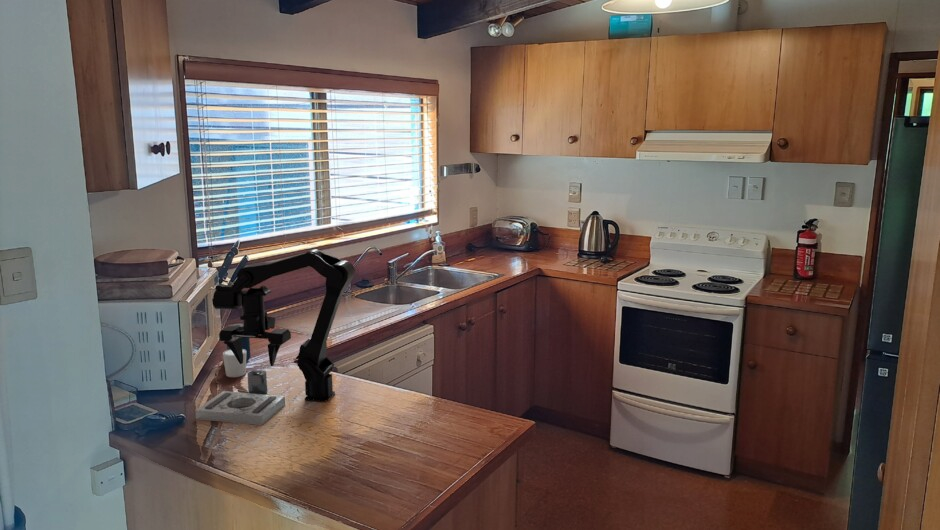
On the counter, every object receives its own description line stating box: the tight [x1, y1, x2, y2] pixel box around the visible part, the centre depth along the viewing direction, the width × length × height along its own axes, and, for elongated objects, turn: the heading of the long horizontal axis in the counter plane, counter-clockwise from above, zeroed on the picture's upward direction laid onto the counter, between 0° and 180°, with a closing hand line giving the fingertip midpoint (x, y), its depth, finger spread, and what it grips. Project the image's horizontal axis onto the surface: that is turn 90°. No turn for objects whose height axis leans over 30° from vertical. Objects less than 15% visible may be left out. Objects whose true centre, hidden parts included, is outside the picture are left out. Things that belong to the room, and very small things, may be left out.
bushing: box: [247, 369, 268, 395], centre depth 188 cm, size 5×5×6 cm
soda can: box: [226, 321, 251, 363], centre depth 214 cm, size 7×7×12 cm
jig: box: [195, 390, 286, 426], centre depth 176 cm, size 18×13×3 cm
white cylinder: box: [222, 349, 247, 378], centre depth 203 cm, size 7×7×7 cm
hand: (256, 364), depth 187 cm, fingers open, 9 cm apart
